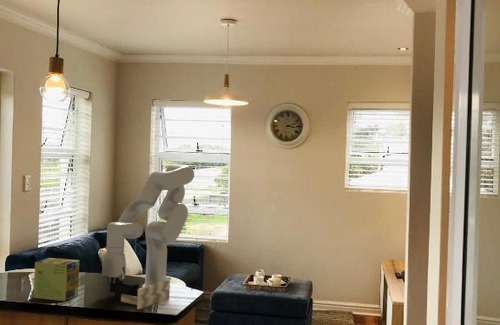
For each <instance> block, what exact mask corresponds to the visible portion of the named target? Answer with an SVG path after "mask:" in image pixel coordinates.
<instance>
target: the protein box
mask: <svg viewBox="0 0 500 325" xmlns="http://www.w3.org/2000/svg"><path fill="white" fill-rule="evenodd" d="M33 279H34V280H33V281H34V282H33V296H32V297H33V299H42V300H43V299H44V300H51V301H52V300H53V301H60V302H61V301H62V302H66V301H68V300H71V299H72V298H76V297H77V296H79V280H80V260H79V259H67V258H54V257H53V258H52V257H48V258H44V259H40V260H36V261H35V262H34V278H33Z"/></svg>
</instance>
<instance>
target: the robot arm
mask: <svg viewBox="0 0 500 325" xmlns="http://www.w3.org/2000/svg"><path fill="white" fill-rule="evenodd" d="M194 179H195V170H194V169H193V168H192V167H191V166H189V165H179V164H178V165H177V164H172V165H169V166H167V167H166V169H165V171H153V172H151V173H150V175H149V176H148V178H147V180H146V181H145V183H144V185H143V187H142V188H141V190H140V192H139V194H138V196H137V197H136V199H134V200H133V201H132V202H130V203H129V205H128V206H126V208H125V209H124V210H123V211H122V213H121V214H120V217H119V219H118V221H114V222H109V223H107V228H106V229H107V231H106V232H107V233H106V246H105V250H106V252H105V253H104V254H103V261H102V266H101V267H102V270H101V273H102V275H103V277H104V278H106V279H107V280H108V283H109V293H114V294H115V282H117V281H122V280H124V281H125V276H126V273H127V262H126V260H127V259H126V254H125V239H133V240H135V239H138V238H140V237H141V236H142V235H143V234H144V233H145V241H146V259H145V260H146V261H145V283H144V284H142V286H141V288H143V287H146V286H149V285H152V284H155V283H158V282H161V281H164V280H167V279H169V280H170V281H171V279H172V278H171V276H167V261H168V260H167V259H168V248H167V245H171V244H173V243H175V242H176V241H177V239H178V238H179V236H180V235H181V232H182V230H183V228H184V226H185V223H186V222H187V219H188V216H189V211H188V209H189V208H188V207H187V205H186V204H184V203H183V200H184V198H185V196H186V190H185V185H188V184H190V183H191V182H192V181H193V180H194ZM163 191H166V194H165V196H164V198H163V200H162V202H161V204H160V206H159V208H158V211H157V216H158V217H159V218H160V219H161V220H163V221H161V220H154V221H150V222H149V223H148V224H147V226H146V228H145V232H144V226H143V225H142V224H141V223H140V222H137V221H135V220H136V218H137V217H138V216H140V214H142V213H143V212H147V211H149V210H150V209H152V208H154V206H155V205H156V203H157V201H158V198H159V196H160V195H161V193H162V192H163Z"/></svg>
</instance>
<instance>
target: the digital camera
mask: <svg viewBox="0 0 500 325" xmlns="http://www.w3.org/2000/svg"><path fill="white" fill-rule="evenodd" d="M138 289H140V283H136V282H132V281H130V280H125V279H124V280H120V281H117V282H115V292H114V298H115V299H119V300H121V295H122V294H125V295H131V296H136V297H138Z"/></svg>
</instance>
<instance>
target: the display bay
mask: <svg viewBox="0 0 500 325" xmlns="http://www.w3.org/2000/svg"><path fill="white" fill-rule="evenodd" d="M170 289H171V280H169V279H167V280H164V281H161V282H158V283H155V284H152V285H149V286H146V287H143V288H142V287H139V289H138V297H136V296H131V295H125V294H122V295H121V299H120V302H121V303H126V304H129V305H136V309H137V310H141V309H144V308H146V307H149V306H152V305H154V304H157V303H159V302H162V301H164V300H167V299H170V292H171V290H170Z"/></svg>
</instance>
